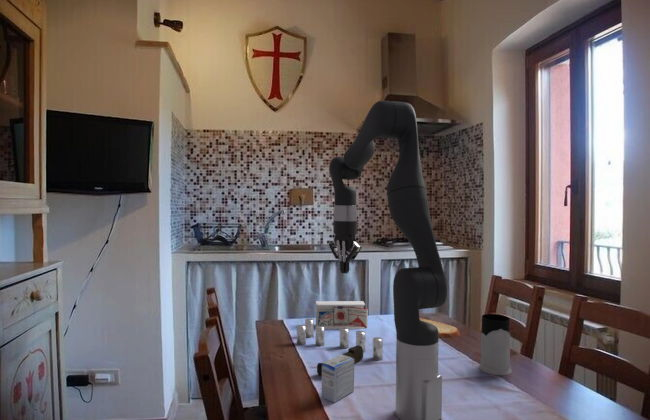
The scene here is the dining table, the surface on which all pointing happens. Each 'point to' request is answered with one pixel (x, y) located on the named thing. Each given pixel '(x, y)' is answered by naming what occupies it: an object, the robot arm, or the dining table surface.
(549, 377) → the dining table surface
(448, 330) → the bread slice
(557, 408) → the dining table surface
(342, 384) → the medicine box
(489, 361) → the glass holder
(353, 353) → the dark brown rod
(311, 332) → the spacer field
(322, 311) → the white printed carton
